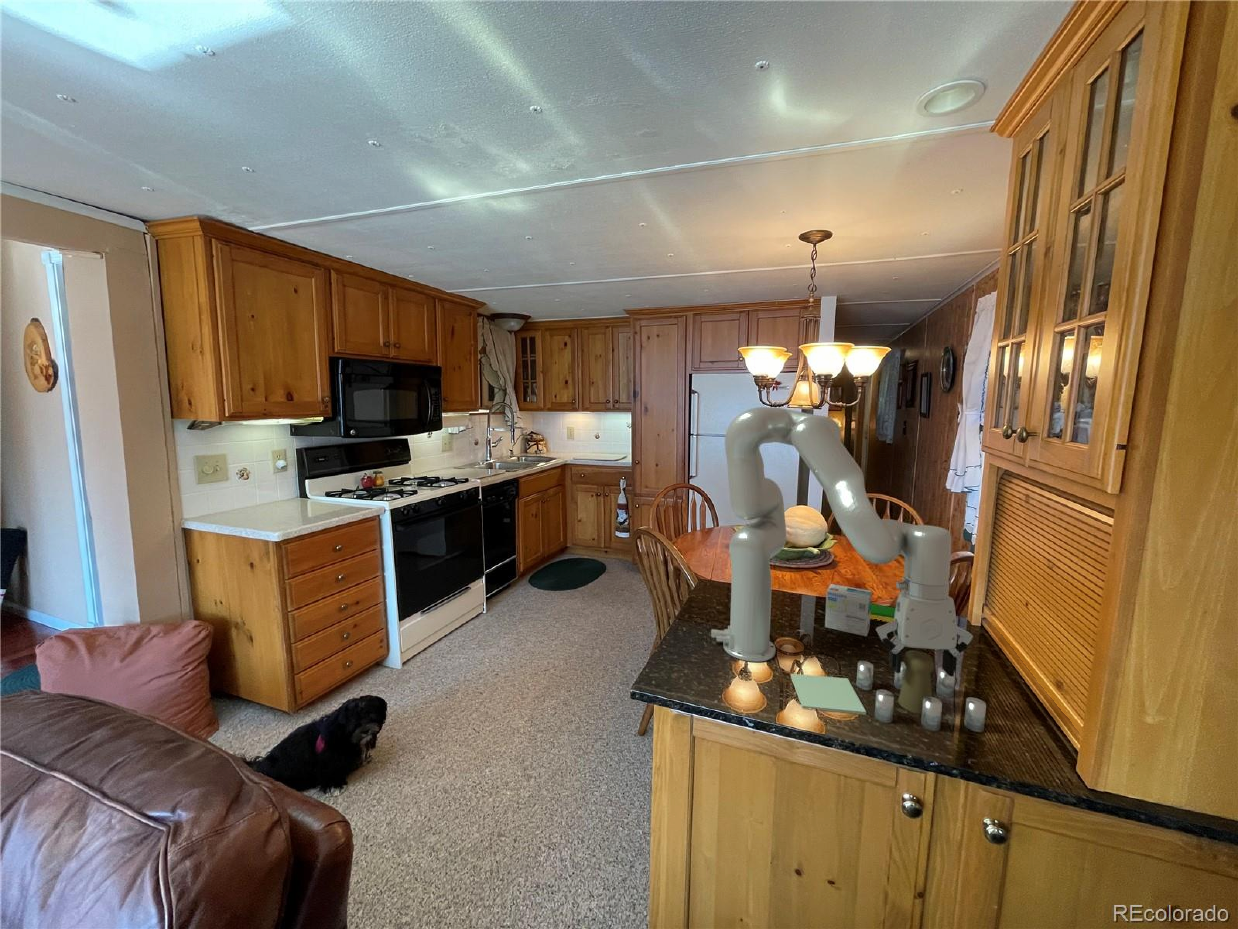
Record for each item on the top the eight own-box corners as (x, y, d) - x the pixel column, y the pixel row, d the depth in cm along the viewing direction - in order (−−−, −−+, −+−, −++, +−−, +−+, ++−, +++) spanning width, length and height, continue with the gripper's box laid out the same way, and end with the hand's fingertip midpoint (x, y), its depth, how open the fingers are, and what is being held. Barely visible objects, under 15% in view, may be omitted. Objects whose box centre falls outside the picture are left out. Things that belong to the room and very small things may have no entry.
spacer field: (879, 725, 92) (881, 700, 91) (853, 679, 108) (854, 658, 107) (990, 736, 89) (993, 711, 88) (946, 687, 105) (948, 665, 104)
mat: (802, 708, 97) (802, 706, 97) (790, 676, 109) (790, 673, 109) (866, 714, 95) (866, 712, 95) (847, 681, 107) (847, 678, 107)
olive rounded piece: (938, 716, 95) (942, 663, 94) (904, 712, 96) (908, 660, 95) (925, 698, 101) (929, 648, 99) (893, 694, 102) (897, 645, 101)
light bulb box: (869, 628, 133) (872, 590, 132) (867, 637, 127) (869, 598, 126) (828, 618, 139) (830, 582, 138) (823, 627, 133) (826, 590, 132)
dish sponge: (861, 609, 146) (862, 602, 146) (915, 618, 140) (915, 610, 140) (861, 618, 140) (862, 610, 139) (917, 628, 134) (918, 620, 133)
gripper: (885, 593, 93) (882, 678, 95) (985, 597, 90) (979, 684, 92) (871, 580, 100) (868, 659, 102) (963, 583, 98) (958, 664, 99)
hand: (921, 671), depth 97 cm, fingers open, 9 cm apart
